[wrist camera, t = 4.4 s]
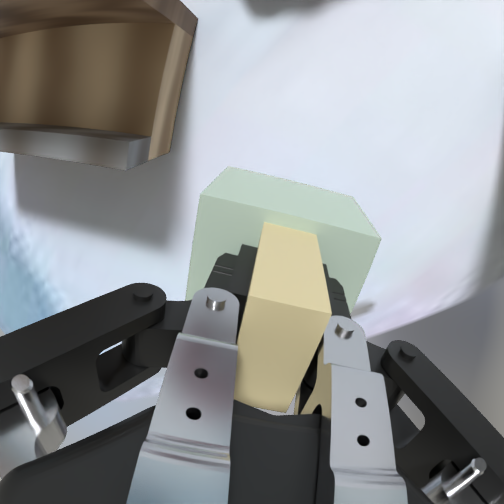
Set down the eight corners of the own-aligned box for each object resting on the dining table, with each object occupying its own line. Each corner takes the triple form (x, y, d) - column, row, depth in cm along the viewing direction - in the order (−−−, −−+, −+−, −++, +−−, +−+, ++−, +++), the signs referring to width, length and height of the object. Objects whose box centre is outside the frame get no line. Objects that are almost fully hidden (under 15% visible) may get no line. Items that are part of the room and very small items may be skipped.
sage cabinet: (353, 196, 17) (428, 315, 7) (326, 274, 19) (352, 429, 9) (228, 166, 17) (146, 250, 7) (213, 248, 19) (144, 388, 9)
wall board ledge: (197, 18, 17) (94, -74, 5) (169, 152, 22) (39, 214, 9) (30, 26, 17) (-95, 18, 5) (13, 132, 21) (-111, 172, 9)
